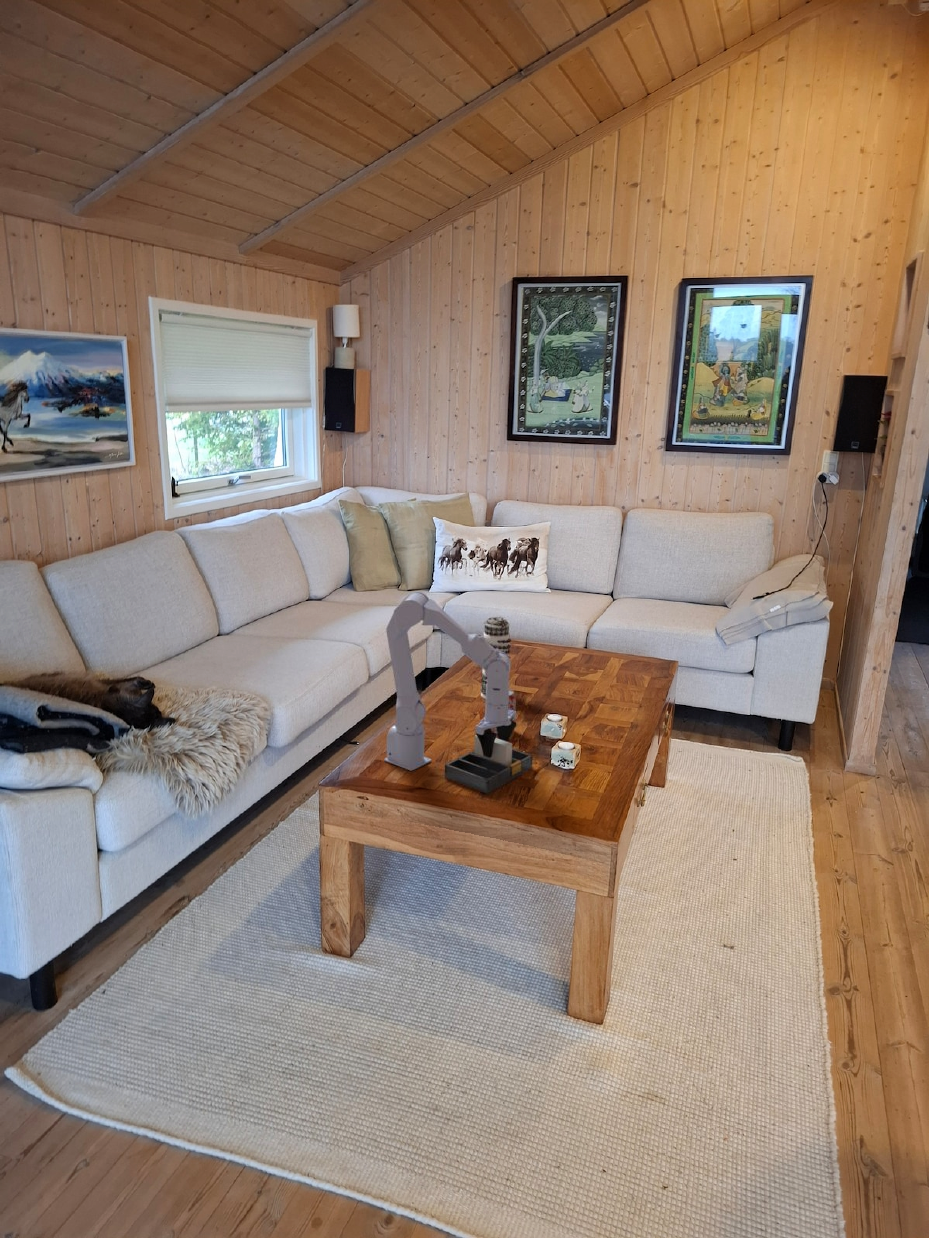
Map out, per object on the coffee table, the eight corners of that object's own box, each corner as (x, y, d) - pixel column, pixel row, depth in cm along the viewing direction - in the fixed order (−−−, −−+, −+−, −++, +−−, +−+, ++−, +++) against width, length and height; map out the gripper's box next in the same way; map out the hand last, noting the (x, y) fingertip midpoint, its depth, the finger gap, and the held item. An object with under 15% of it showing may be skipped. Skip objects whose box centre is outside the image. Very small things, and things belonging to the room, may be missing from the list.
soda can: (513, 727, 243) (515, 687, 240) (515, 737, 237) (517, 696, 233) (488, 726, 243) (490, 687, 240) (490, 736, 236) (491, 696, 233)
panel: (473, 760, 218) (474, 735, 216) (479, 757, 220) (480, 732, 218) (505, 772, 212) (506, 746, 210) (511, 769, 214) (512, 743, 212)
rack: (444, 777, 211) (444, 763, 210) (490, 753, 225) (491, 740, 224) (487, 794, 203) (488, 779, 202) (532, 768, 217) (533, 754, 216)
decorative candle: (509, 691, 272) (512, 615, 265) (508, 701, 263) (511, 623, 256) (481, 689, 273) (483, 614, 266) (478, 699, 264) (481, 622, 257)
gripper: (492, 713, 203) (490, 766, 207) (526, 697, 214) (524, 747, 218) (469, 706, 207) (467, 757, 211) (504, 691, 218) (502, 740, 222)
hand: (495, 752), depth 215 cm, fingers open, 6 cm apart
